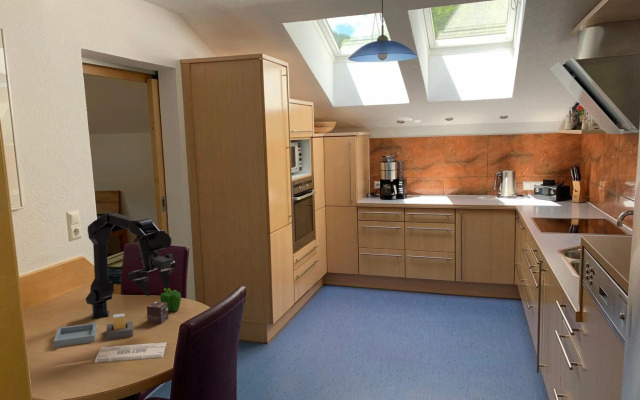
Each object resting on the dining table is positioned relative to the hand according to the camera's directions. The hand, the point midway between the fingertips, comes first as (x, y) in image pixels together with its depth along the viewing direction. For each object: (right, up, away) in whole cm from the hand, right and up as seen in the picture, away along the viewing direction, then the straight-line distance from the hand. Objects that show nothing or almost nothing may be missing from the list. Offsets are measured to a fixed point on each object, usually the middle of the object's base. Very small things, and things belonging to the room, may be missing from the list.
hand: (158, 292), depth 188 cm
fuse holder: (-14, -16, -1) cm, 21 cm away
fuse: (-14, -15, -1) cm, 21 cm away
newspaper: (-4, -19, -16) cm, 25 cm away
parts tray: (-29, -16, -4) cm, 33 cm away
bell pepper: (-2, -12, +25) cm, 28 cm away
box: (-4, -14, +12) cm, 19 cm away
